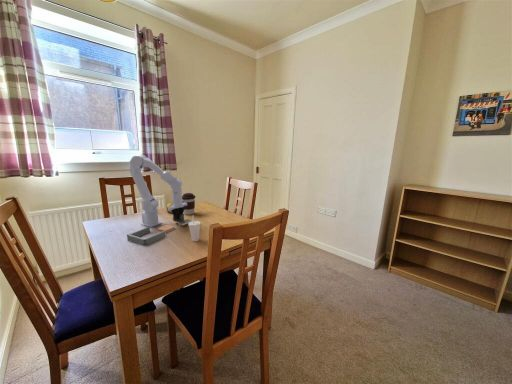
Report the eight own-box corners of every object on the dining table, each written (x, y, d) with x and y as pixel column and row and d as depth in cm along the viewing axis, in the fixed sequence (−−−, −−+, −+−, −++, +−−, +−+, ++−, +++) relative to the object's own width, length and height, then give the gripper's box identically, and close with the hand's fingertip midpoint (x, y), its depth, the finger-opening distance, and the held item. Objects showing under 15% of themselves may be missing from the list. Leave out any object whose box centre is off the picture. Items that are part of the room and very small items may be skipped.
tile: (157, 231, 128) (156, 228, 127) (166, 227, 134) (166, 224, 133) (165, 233, 125) (165, 230, 124) (174, 229, 131) (174, 226, 130)
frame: (127, 239, 115) (126, 234, 114) (148, 231, 126) (148, 226, 126) (145, 245, 109) (144, 240, 108) (165, 236, 121) (165, 231, 120)
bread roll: (178, 214, 159) (177, 203, 157) (164, 214, 157) (163, 204, 156) (180, 208, 171) (180, 199, 170) (168, 209, 170) (167, 199, 168)
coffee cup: (198, 212, 163) (197, 193, 160) (190, 216, 154) (189, 196, 151) (187, 210, 166) (186, 192, 163) (179, 214, 157) (178, 194, 154)
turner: (170, 222, 137) (169, 214, 136) (179, 218, 144) (179, 210, 143) (182, 225, 133) (182, 217, 132) (191, 221, 140) (191, 213, 139)
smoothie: (190, 237, 119) (189, 213, 116) (202, 237, 120) (201, 213, 117) (188, 242, 113) (186, 217, 110) (200, 242, 114) (199, 217, 111)
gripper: (173, 201, 128) (174, 223, 131) (190, 196, 141) (191, 216, 144) (164, 200, 131) (166, 221, 134) (182, 195, 144) (183, 214, 147)
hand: (178, 218), depth 139 cm, fingers closed on turner, 2 cm apart
